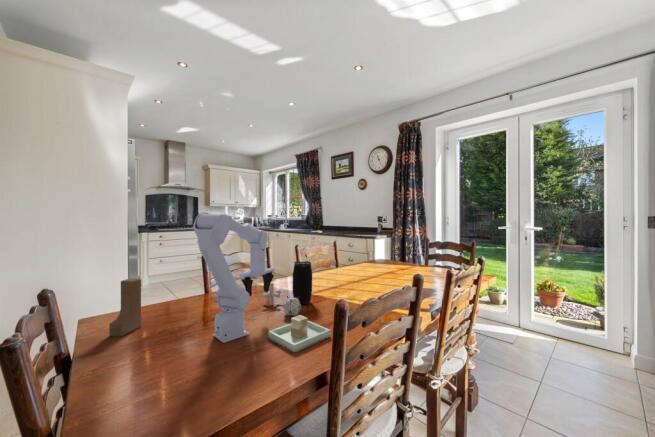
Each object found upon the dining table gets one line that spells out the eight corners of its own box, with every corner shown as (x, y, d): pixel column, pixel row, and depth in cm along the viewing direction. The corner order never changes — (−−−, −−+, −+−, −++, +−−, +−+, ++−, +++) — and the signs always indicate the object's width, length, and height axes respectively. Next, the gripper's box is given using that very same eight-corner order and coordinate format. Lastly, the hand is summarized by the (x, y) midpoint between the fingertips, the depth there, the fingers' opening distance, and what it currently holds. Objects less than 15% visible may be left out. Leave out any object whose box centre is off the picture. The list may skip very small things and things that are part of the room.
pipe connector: (270, 309, 123) (270, 287, 123) (255, 305, 129) (256, 283, 129) (286, 304, 131) (286, 282, 131) (272, 299, 137) (272, 279, 137)
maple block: (298, 339, 93) (298, 321, 93) (290, 335, 95) (291, 317, 95) (307, 335, 95) (307, 317, 95) (299, 331, 98) (300, 314, 98)
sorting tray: (294, 353, 85) (294, 345, 85) (268, 338, 94) (268, 331, 94) (330, 337, 96) (330, 329, 96) (304, 325, 106) (304, 318, 106)
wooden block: (120, 337, 94) (120, 284, 94) (108, 336, 95) (108, 284, 94) (141, 326, 103) (141, 278, 103) (130, 326, 104) (130, 277, 103)
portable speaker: (289, 302, 133) (289, 261, 133) (305, 298, 139) (306, 259, 139) (298, 307, 126) (298, 264, 126) (315, 303, 132) (315, 262, 132)
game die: (295, 323, 117) (309, 302, 120) (291, 323, 109) (306, 301, 112) (279, 310, 120) (292, 290, 122) (273, 310, 112) (288, 288, 114)
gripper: (246, 263, 102) (246, 300, 103) (278, 258, 113) (278, 292, 113) (236, 261, 107) (237, 296, 108) (268, 256, 118) (268, 288, 118)
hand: (257, 293), depth 111 cm, fingers open, 7 cm apart
